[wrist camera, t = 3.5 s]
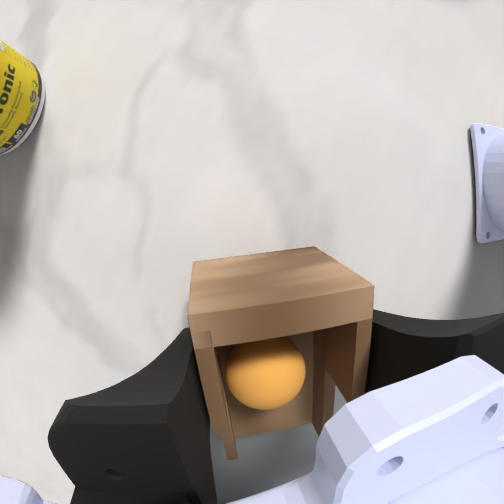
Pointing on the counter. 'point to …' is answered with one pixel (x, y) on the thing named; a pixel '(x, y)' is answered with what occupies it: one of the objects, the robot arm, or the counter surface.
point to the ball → (265, 372)
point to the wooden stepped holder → (280, 333)
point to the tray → (265, 459)
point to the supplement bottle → (18, 98)
